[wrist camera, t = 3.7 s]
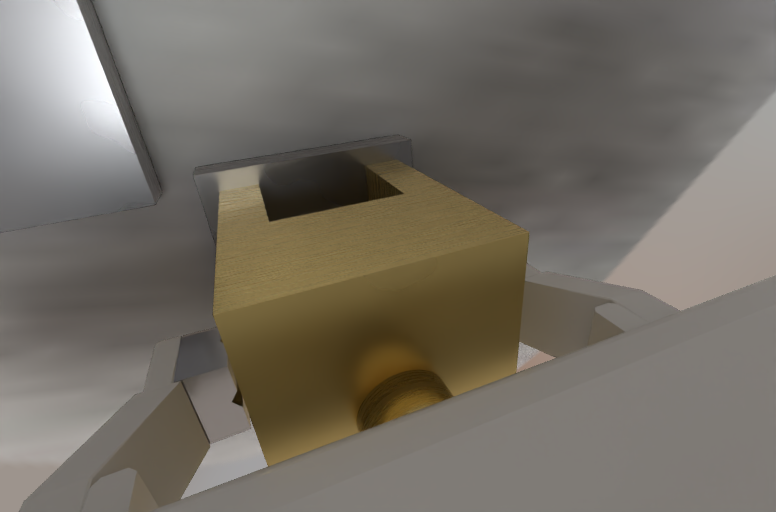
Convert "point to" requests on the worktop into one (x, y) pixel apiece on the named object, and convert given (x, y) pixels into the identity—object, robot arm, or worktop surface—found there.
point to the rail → (65, 120)
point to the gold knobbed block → (364, 306)
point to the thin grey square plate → (301, 177)
